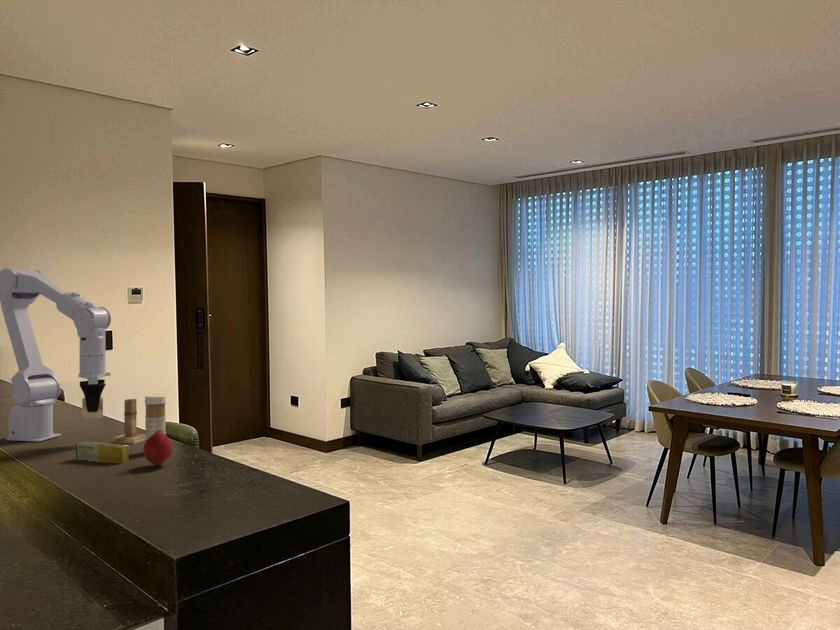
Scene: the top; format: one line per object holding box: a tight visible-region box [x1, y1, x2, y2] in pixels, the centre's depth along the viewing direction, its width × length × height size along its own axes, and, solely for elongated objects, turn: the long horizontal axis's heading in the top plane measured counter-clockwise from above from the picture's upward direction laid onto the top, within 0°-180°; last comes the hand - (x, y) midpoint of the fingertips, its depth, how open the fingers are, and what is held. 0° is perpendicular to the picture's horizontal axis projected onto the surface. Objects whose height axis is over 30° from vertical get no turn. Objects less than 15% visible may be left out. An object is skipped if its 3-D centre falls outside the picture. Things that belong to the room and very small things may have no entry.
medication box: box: [75, 440, 129, 465], centre depth 140 cm, size 12×3×4 cm, turn 77°
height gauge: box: [111, 398, 146, 445], centre depth 160 cm, size 6×6×11 cm
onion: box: [143, 429, 174, 467], centre depth 135 cm, size 6×6×8 cm
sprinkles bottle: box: [144, 393, 167, 442], centre depth 148 cm, size 5×5×14 cm
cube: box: [81, 396, 104, 420], centre depth 156 cm, size 4×4×4 cm
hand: (92, 410), depth 156 cm, fingers closed on cube, 4 cm apart
